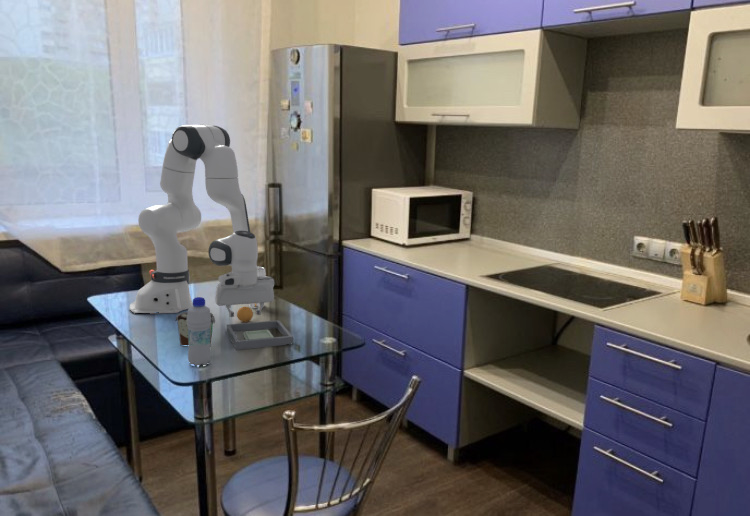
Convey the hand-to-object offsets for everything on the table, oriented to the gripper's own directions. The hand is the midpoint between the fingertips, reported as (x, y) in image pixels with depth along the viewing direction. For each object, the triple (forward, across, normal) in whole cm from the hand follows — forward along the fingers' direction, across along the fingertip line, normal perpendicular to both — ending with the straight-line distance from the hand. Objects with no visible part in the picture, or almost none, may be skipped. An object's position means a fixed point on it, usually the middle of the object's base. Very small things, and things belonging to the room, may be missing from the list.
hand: (245, 315), depth 208 cm
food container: (+3, +18, +18) cm, 26 cm away
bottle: (+2, +20, +36) cm, 41 cm away
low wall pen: (+2, -1, +18) cm, 18 cm away
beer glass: (+2, -8, -18) cm, 20 cm away
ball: (0, 0, 0) cm, 0 cm away
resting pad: (+2, -1, +18) cm, 18 cm away
